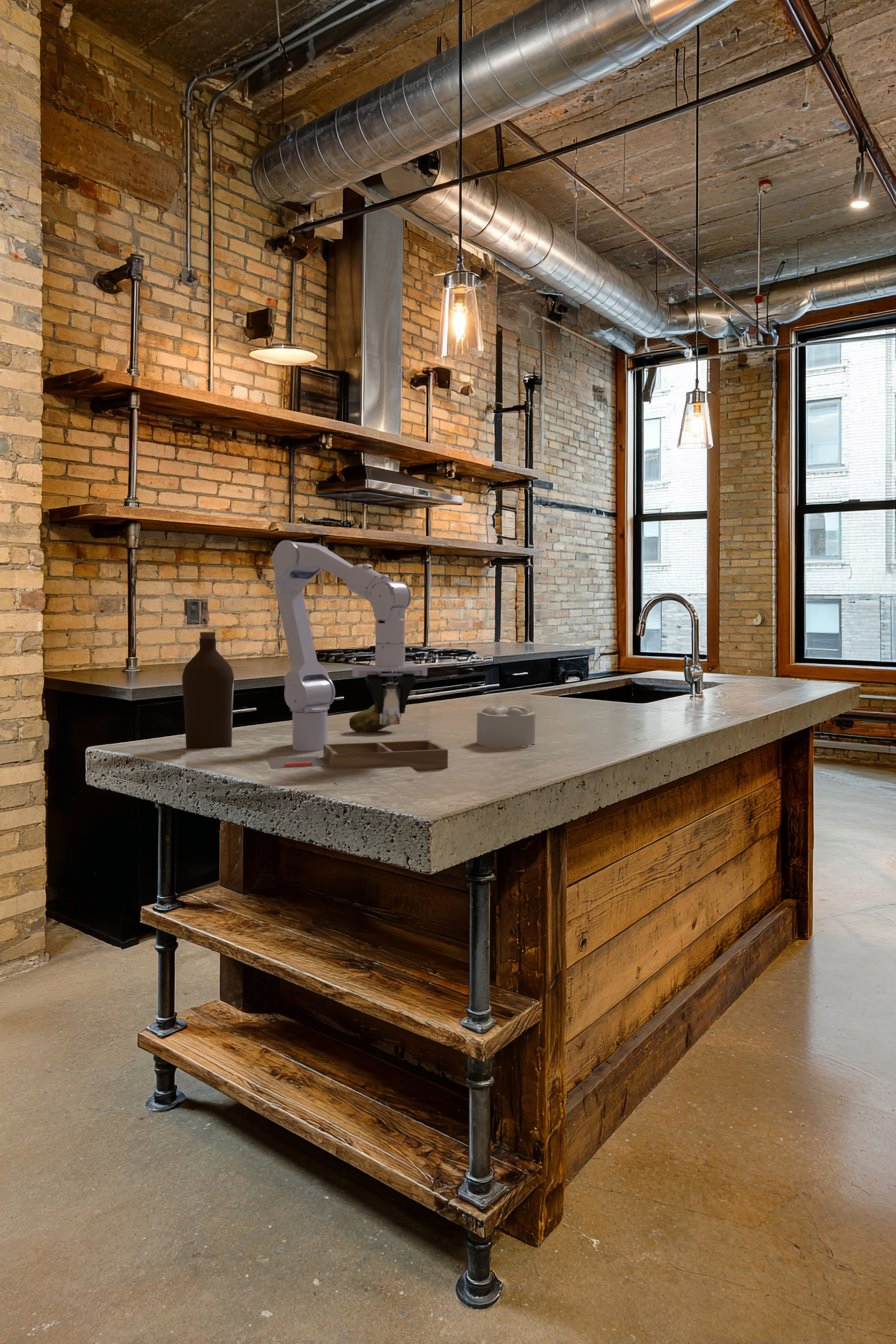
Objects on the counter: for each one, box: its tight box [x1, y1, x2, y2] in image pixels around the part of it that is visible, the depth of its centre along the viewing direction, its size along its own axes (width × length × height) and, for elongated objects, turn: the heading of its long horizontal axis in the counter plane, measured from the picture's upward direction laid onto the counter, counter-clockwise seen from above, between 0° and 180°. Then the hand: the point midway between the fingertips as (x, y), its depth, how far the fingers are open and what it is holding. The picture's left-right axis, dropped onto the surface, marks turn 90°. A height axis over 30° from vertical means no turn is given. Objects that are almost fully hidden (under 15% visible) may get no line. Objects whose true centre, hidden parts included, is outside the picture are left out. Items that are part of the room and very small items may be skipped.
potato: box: [348, 704, 403, 733], centre depth 205 cm, size 8×13×8 cm, turn 90°
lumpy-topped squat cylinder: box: [476, 704, 536, 749], centre depth 189 cm, size 10×13×9 cm
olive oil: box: [181, 631, 235, 750], centre depth 178 cm, size 11×11×25 cm
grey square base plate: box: [266, 755, 327, 769], centre depth 160 cm, size 10×10×2 cm
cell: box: [380, 681, 401, 726], centre depth 162 cm, size 4×4×8 cm
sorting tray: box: [322, 739, 449, 770], centre depth 163 cm, size 12×22×4 cm, turn 108°
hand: (390, 713), depth 163 cm, fingers closed on cell, 4 cm apart
